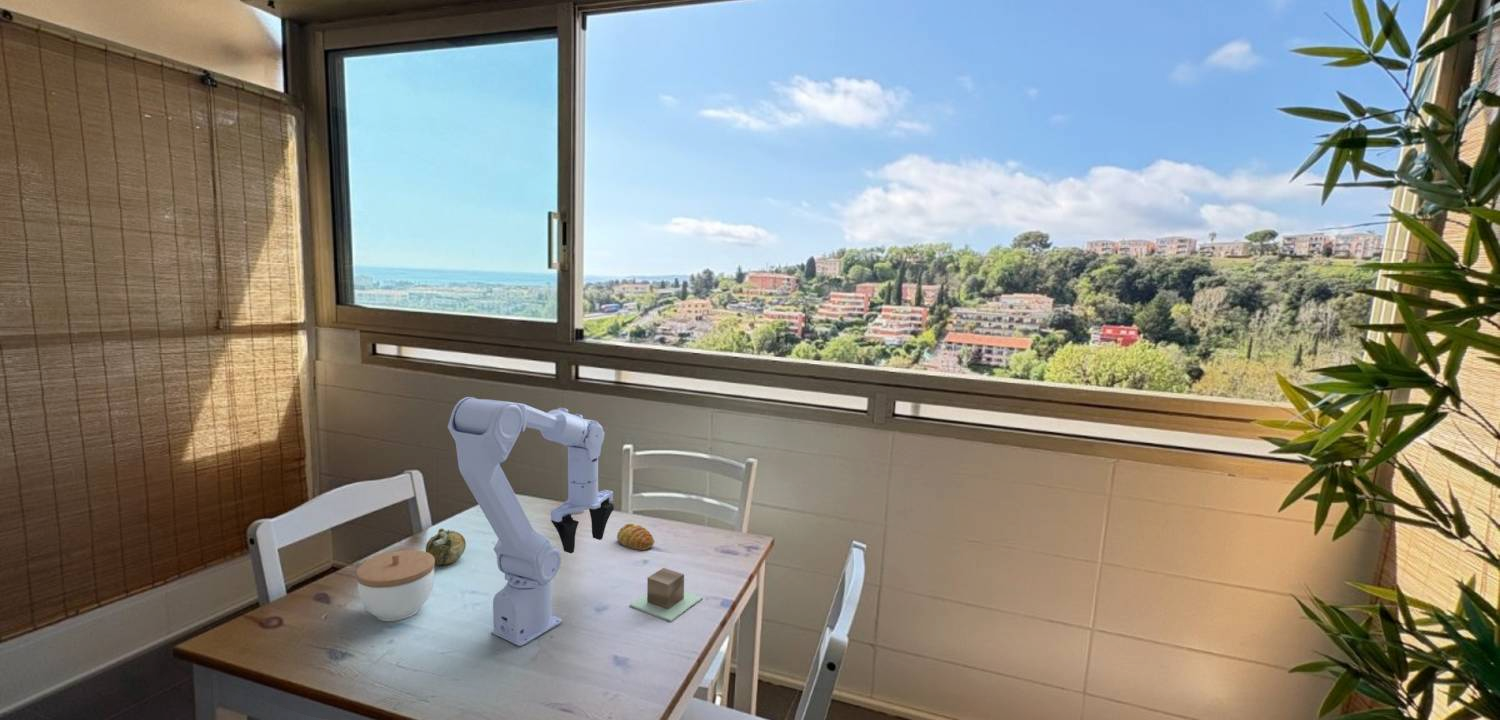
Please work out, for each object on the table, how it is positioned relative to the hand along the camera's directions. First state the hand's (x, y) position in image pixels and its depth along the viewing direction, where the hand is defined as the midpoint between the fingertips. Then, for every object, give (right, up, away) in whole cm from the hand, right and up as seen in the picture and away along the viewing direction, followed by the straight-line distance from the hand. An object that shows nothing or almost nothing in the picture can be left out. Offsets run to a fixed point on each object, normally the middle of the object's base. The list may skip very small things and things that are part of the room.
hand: (583, 544), depth 127 cm
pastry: (+6, -7, +24) cm, 25 cm away
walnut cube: (+17, -10, -3) cm, 20 cm away
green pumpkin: (-33, -7, +11) cm, 35 cm away
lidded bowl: (-32, -10, -9) cm, 35 cm away
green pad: (+17, -10, -3) cm, 20 cm away
